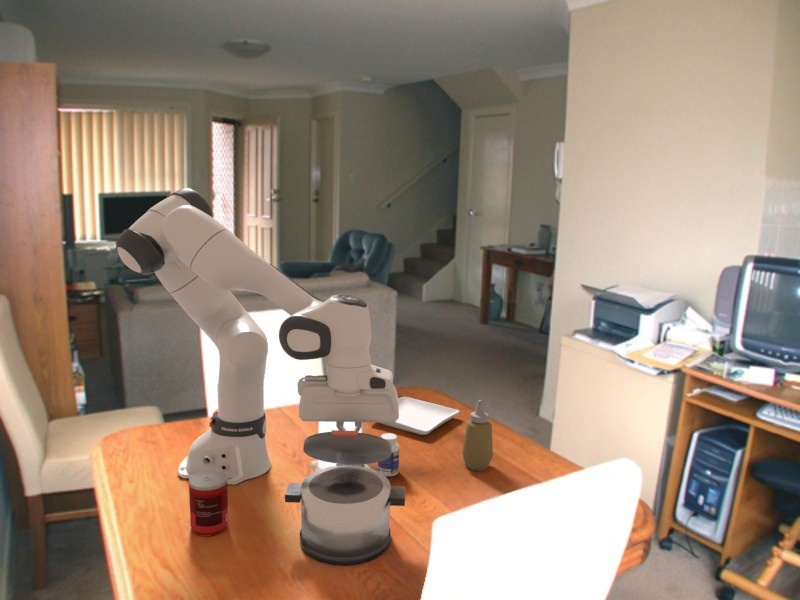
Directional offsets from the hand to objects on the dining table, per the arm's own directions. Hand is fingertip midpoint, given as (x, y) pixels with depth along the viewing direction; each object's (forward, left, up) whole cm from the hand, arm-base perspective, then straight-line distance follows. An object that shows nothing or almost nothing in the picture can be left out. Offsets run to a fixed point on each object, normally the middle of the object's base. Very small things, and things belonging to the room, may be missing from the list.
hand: (349, 440), depth 133 cm
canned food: (-29, 0, -21) cm, 36 cm away
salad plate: (+15, +63, -21) cm, 68 cm away
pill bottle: (+8, +28, -21) cm, 36 cm away
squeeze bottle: (+31, +33, -21) cm, 50 cm away
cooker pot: (0, -3, -21) cm, 21 cm away
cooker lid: (0, -1, -2) cm, 2 cm away
